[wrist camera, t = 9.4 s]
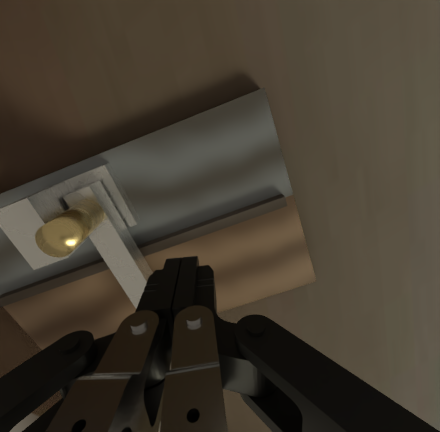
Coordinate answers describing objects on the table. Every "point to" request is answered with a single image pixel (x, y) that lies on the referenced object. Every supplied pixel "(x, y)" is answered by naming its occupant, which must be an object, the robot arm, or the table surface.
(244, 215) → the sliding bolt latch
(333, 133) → the table surface
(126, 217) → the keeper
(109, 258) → the swing bar
